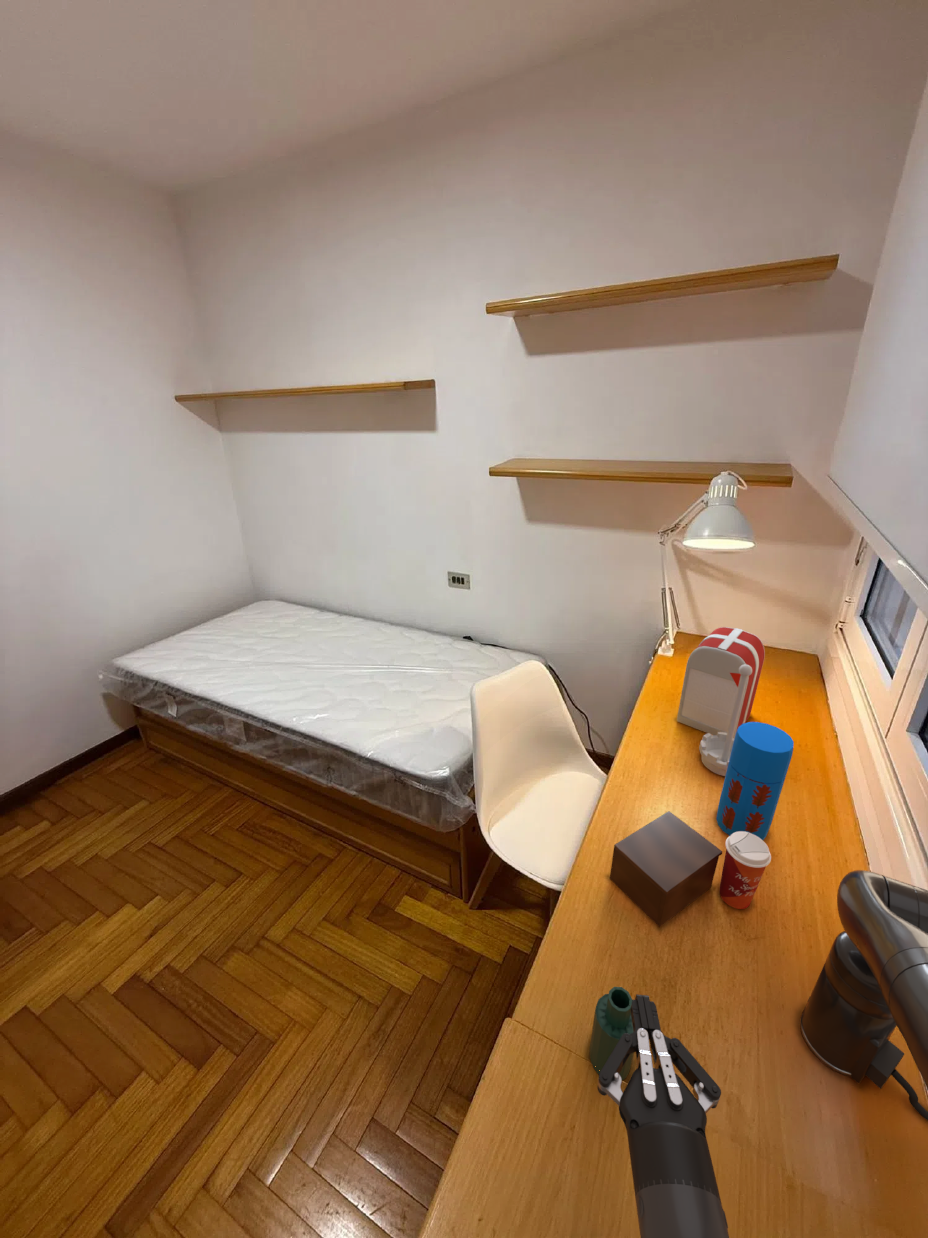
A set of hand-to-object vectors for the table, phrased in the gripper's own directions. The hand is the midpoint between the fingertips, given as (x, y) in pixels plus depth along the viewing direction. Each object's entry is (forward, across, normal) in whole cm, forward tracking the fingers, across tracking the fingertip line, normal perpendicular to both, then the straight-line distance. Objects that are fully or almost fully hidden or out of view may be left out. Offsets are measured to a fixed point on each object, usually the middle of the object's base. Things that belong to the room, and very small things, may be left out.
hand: (641, 998), depth 62 cm
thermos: (+54, +36, -28) cm, 71 cm away
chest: (+37, +14, -27) cm, 48 cm away
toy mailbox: (+97, +43, -29) cm, 110 cm away
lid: (+38, +14, -18) cm, 44 cm away
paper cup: (+36, +28, -27) cm, 53 cm away
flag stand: (+76, +39, -28) cm, 90 cm away
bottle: (+5, -1, -26) cm, 26 cm away
